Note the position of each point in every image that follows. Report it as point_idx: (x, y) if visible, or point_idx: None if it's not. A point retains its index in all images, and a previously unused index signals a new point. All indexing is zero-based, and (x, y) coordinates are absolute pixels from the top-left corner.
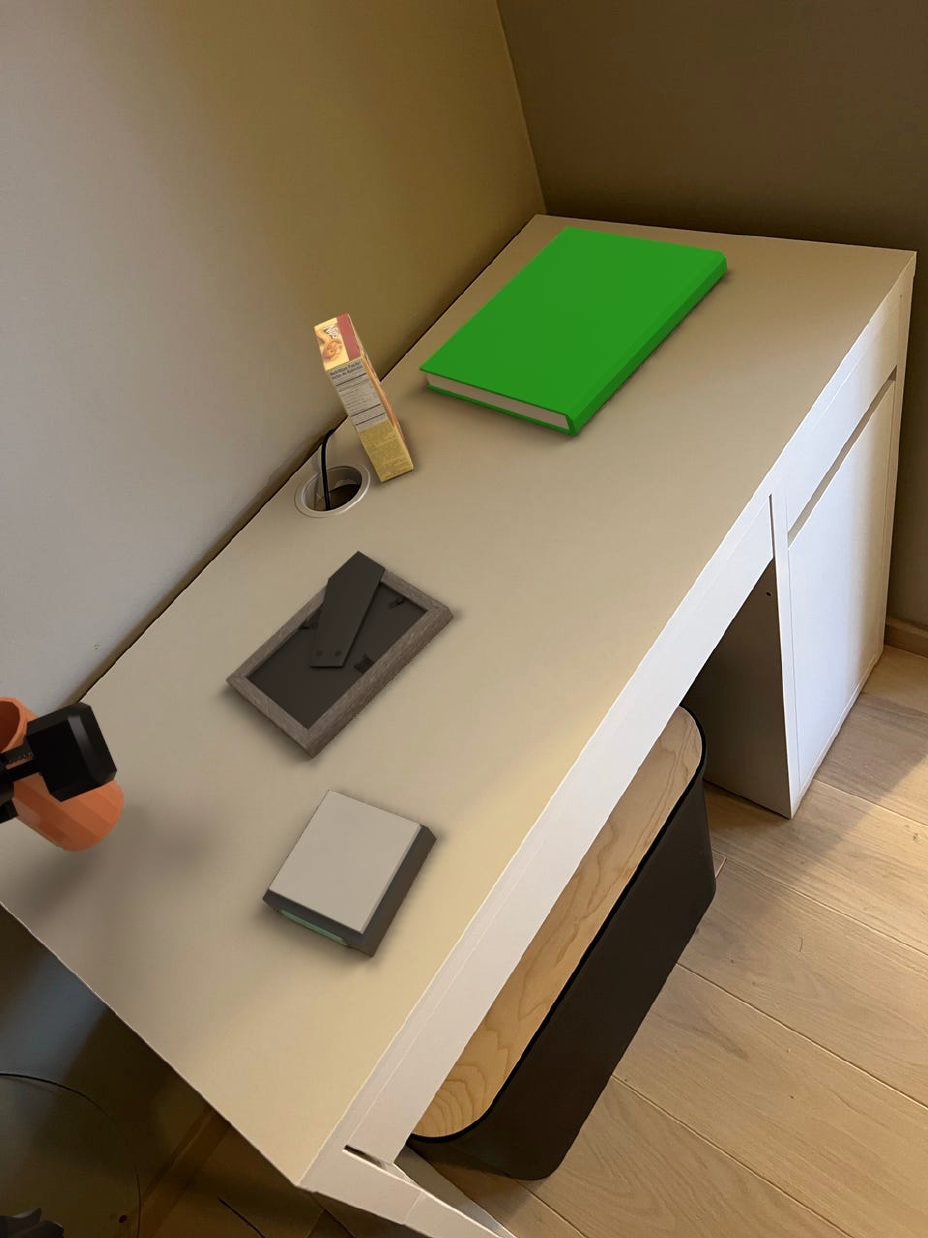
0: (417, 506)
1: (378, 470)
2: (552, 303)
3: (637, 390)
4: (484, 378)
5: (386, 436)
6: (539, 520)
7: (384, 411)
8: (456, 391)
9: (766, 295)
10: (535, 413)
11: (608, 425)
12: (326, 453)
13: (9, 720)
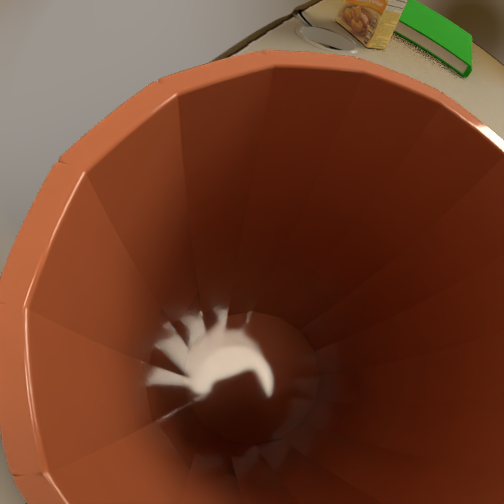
0: (404, 72)
1: (372, 39)
2: (417, 12)
3: (473, 71)
4: (411, 24)
5: (392, 22)
6: (481, 116)
7: (403, 7)
8: None
9: (487, 61)
10: (443, 55)
11: (474, 80)
12: (306, 18)
13: (255, 182)
